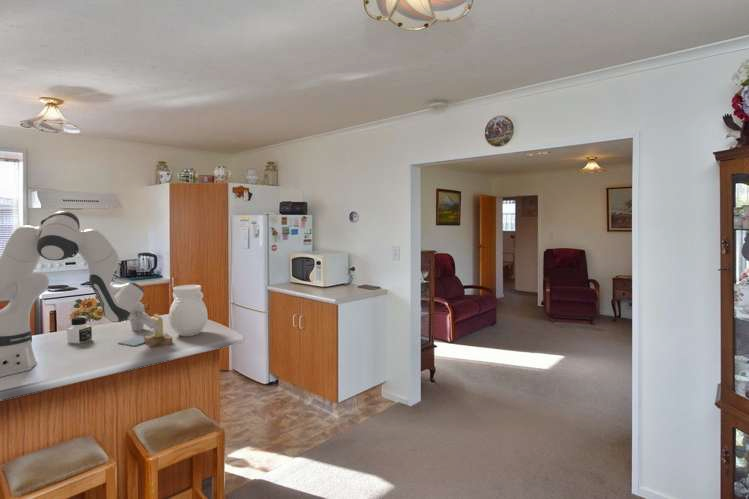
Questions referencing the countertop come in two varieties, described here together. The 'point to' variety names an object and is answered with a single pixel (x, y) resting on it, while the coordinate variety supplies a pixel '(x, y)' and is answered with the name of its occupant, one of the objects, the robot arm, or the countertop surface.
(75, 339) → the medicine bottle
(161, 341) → the socket block
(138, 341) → the slate mat
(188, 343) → the countertop surface
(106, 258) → the robot arm
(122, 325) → the countertop surface
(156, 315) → the t key
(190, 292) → the white vase
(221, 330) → the countertop surface
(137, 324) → the house plant
